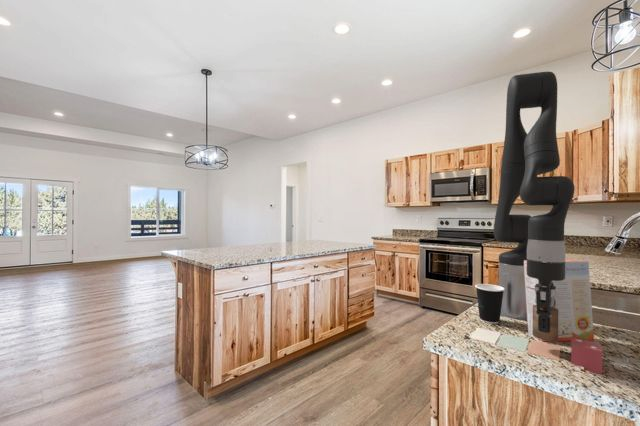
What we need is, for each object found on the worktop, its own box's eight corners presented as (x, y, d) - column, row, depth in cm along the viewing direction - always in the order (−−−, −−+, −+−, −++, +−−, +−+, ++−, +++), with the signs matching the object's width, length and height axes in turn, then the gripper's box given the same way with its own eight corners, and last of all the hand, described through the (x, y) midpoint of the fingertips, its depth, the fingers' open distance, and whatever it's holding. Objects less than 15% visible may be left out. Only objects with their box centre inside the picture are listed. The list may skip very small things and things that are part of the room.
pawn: (533, 330, 76) (533, 289, 76) (558, 336, 73) (558, 293, 73) (531, 337, 73) (531, 293, 73) (557, 342, 69) (558, 297, 69)
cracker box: (575, 334, 84) (571, 259, 85) (595, 342, 78) (590, 261, 79) (525, 334, 83) (522, 259, 85) (542, 342, 77) (538, 260, 79)
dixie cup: (509, 324, 91) (510, 288, 91) (495, 329, 87) (495, 291, 87) (483, 316, 98) (484, 282, 98) (469, 320, 94) (469, 285, 94)
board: (476, 328, 88) (476, 326, 88) (562, 348, 75) (562, 345, 75) (466, 340, 79) (466, 338, 79) (561, 365, 67) (561, 362, 67)
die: (571, 358, 70) (571, 336, 70) (600, 365, 67) (600, 343, 67) (571, 366, 66) (571, 344, 66) (602, 374, 63) (602, 351, 63)
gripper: (530, 254, 81) (529, 317, 81) (523, 260, 70) (522, 333, 70) (566, 256, 76) (565, 324, 76) (564, 263, 65) (564, 342, 65)
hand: (545, 328), depth 73 cm, fingers closed on pawn, 5 cm apart
